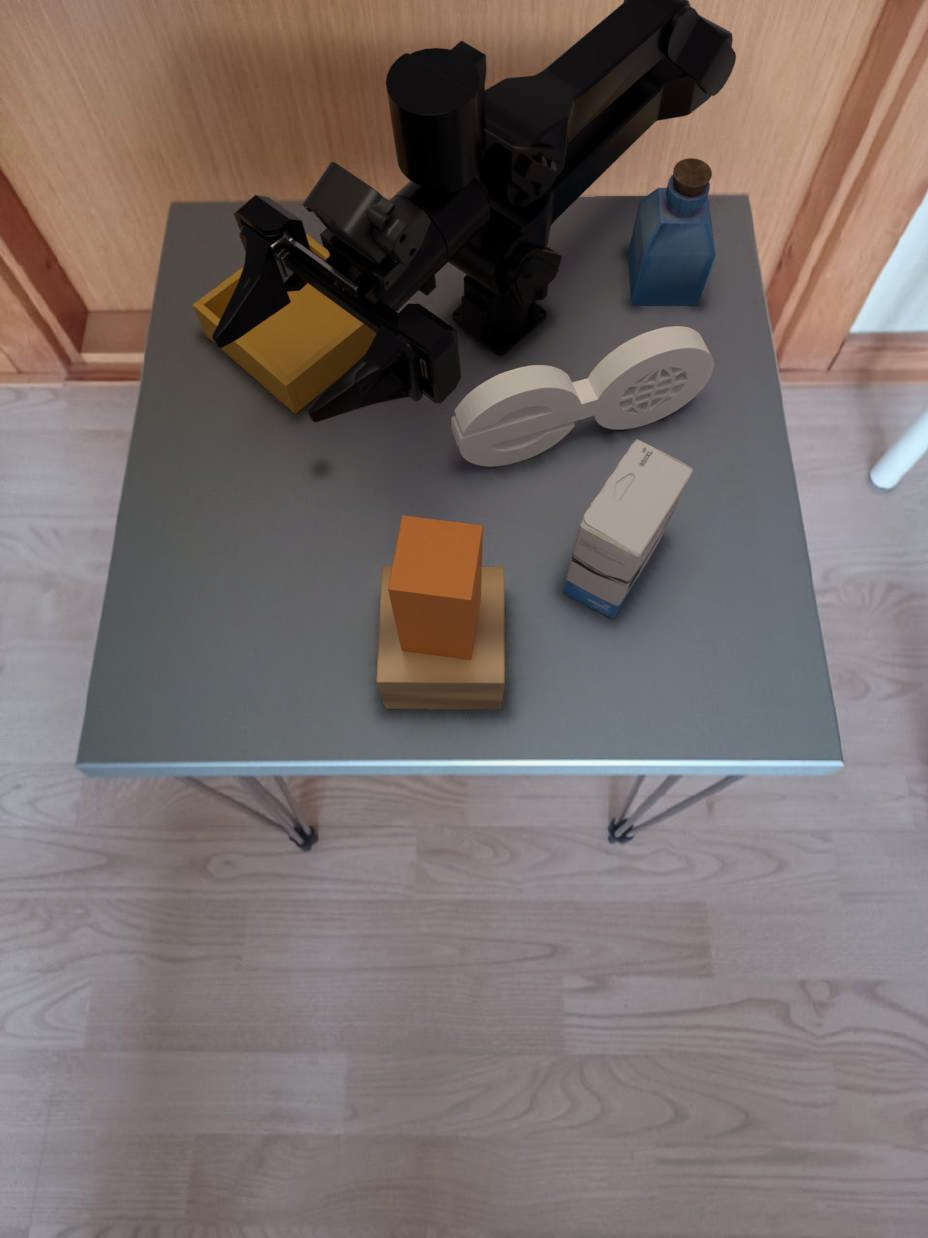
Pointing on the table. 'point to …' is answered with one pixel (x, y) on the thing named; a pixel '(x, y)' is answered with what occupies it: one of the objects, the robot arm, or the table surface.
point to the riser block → (445, 659)
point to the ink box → (624, 527)
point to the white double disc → (581, 397)
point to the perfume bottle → (673, 240)
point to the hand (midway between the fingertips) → (262, 379)
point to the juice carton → (437, 586)
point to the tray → (292, 340)
